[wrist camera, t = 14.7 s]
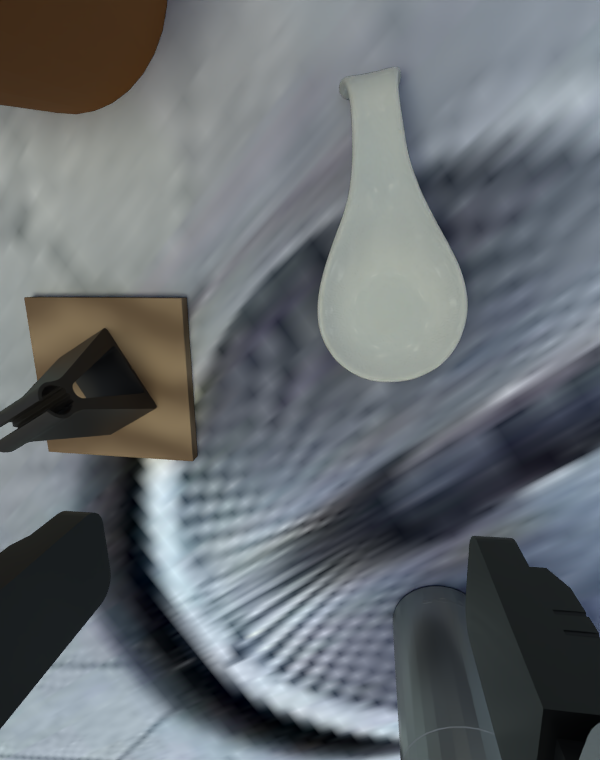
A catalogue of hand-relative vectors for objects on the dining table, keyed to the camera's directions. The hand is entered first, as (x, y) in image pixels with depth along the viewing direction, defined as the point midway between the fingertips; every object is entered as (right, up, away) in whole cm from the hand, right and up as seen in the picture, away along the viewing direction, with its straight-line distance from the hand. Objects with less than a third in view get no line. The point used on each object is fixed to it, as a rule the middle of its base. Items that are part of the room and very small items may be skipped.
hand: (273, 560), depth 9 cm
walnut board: (-18, +4, +35) cm, 39 cm away
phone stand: (-18, +4, +34) cm, 39 cm away
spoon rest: (+8, +16, +28) cm, 33 cm away
